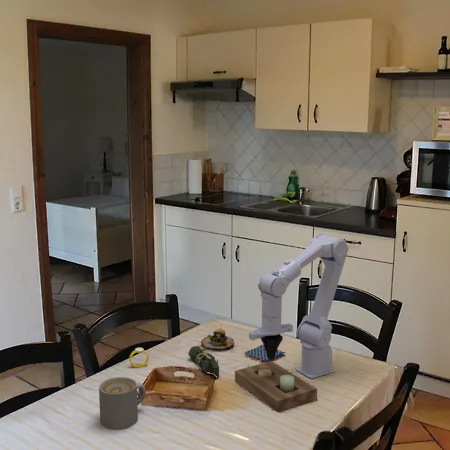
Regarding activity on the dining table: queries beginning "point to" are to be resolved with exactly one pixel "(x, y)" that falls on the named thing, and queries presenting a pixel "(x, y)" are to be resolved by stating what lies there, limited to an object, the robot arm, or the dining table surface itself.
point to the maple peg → (264, 373)
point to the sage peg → (287, 383)
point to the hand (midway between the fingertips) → (270, 358)
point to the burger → (218, 340)
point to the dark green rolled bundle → (204, 360)
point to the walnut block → (275, 387)
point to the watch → (139, 350)
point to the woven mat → (262, 354)
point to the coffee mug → (119, 402)
